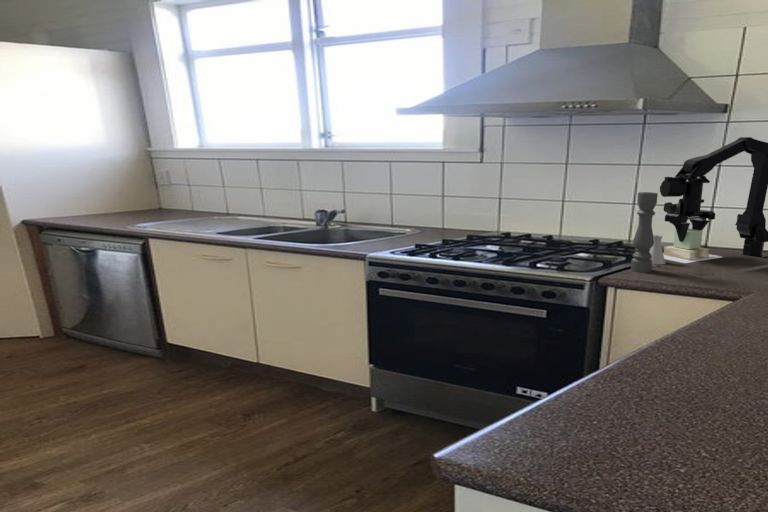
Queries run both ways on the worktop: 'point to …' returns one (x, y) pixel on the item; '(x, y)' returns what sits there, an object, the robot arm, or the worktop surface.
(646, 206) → the candle holder
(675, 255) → the birch plinth
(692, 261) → the pale blue-grey board
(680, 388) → the worktop surface
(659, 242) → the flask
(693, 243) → the sage cube
